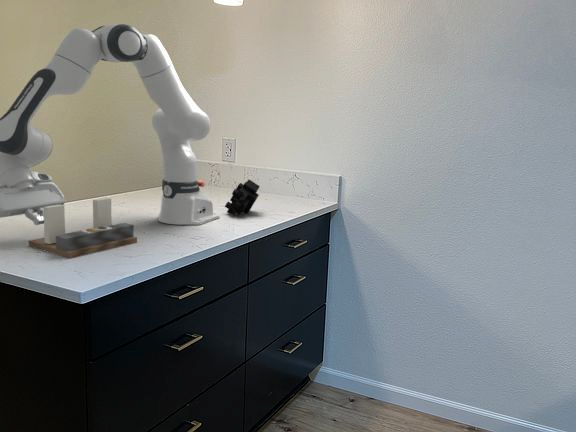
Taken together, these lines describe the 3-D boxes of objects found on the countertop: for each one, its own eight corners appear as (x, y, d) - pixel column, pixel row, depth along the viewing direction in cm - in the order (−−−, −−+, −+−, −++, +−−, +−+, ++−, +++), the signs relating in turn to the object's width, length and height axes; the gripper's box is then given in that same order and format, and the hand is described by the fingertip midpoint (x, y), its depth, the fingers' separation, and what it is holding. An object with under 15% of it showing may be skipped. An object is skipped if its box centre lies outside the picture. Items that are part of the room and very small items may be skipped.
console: (97, 232, 178) (96, 214, 177) (137, 242, 168) (137, 224, 167) (28, 245, 159) (27, 226, 158) (69, 258, 150) (68, 237, 148)
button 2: (106, 230, 174) (105, 197, 172) (111, 231, 173) (111, 198, 171) (92, 232, 170) (91, 199, 168) (97, 234, 168) (97, 200, 166)
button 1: (59, 239, 161) (58, 204, 159) (65, 240, 159) (64, 205, 157) (43, 242, 157) (42, 206, 155) (49, 244, 155) (47, 207, 153)
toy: (219, 214, 211) (234, 195, 224) (238, 226, 212) (252, 206, 224) (231, 191, 205) (246, 173, 217) (251, 204, 205) (265, 185, 217)
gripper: (-13, 180, 153) (10, 222, 150) (55, 174, 170) (77, 211, 167) (-21, 195, 156) (1, 236, 153) (46, 187, 173) (67, 224, 170)
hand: (41, 223), depth 160 cm, fingers closed
